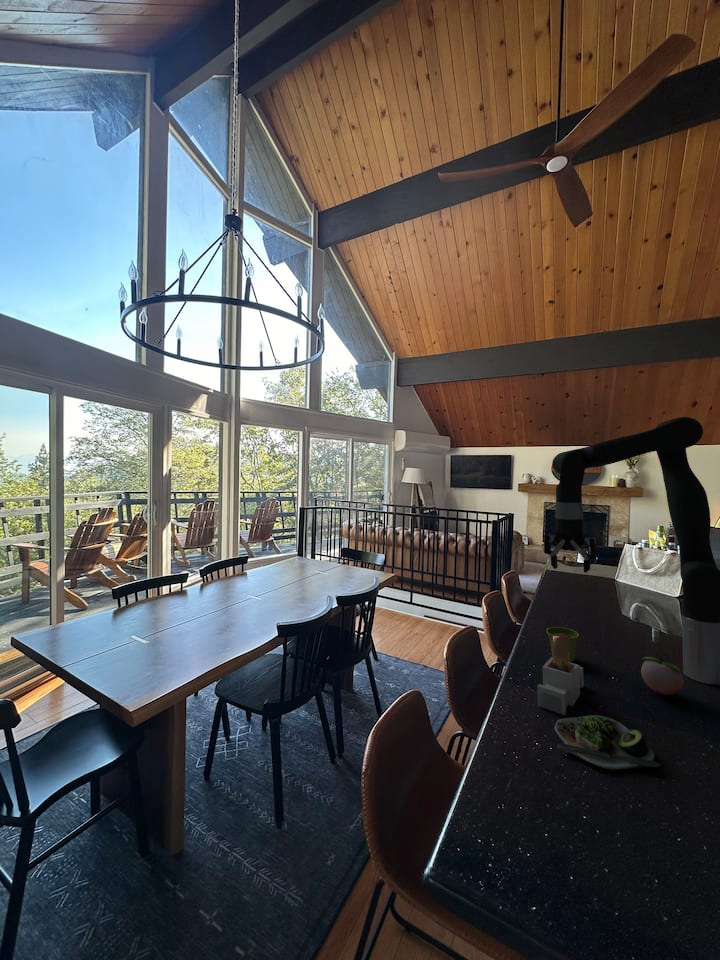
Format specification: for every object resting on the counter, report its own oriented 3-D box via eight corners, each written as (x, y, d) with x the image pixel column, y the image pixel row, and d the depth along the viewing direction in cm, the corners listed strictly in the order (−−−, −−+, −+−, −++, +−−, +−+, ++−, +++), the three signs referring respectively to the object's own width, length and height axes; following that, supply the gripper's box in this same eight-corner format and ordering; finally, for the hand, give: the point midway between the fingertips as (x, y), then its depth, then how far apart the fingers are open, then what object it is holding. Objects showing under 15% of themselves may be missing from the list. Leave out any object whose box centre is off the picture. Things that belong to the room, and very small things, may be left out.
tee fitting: (585, 686, 112) (584, 658, 112) (566, 716, 98) (565, 683, 98) (557, 678, 117) (556, 650, 117) (536, 705, 103) (535, 674, 103)
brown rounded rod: (571, 680, 108) (570, 635, 108) (567, 686, 105) (566, 640, 105) (555, 675, 110) (554, 632, 110) (551, 681, 107) (550, 636, 107)
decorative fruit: (636, 693, 108) (635, 656, 108) (645, 683, 113) (644, 647, 113) (679, 708, 100) (679, 668, 100) (687, 696, 106) (687, 658, 106)
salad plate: (582, 783, 77) (582, 759, 77) (533, 726, 95) (533, 707, 95) (674, 774, 79) (674, 751, 79) (610, 720, 97) (609, 701, 97)
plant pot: (546, 662, 127) (545, 635, 127) (547, 650, 135) (547, 625, 135) (579, 668, 122) (579, 640, 122) (579, 655, 131) (578, 629, 130)
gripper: (598, 517, 120) (599, 571, 120) (548, 514, 129) (549, 565, 130) (592, 519, 114) (593, 576, 114) (540, 517, 124) (541, 569, 124)
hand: (570, 570), depth 122 cm, fingers open, 8 cm apart
